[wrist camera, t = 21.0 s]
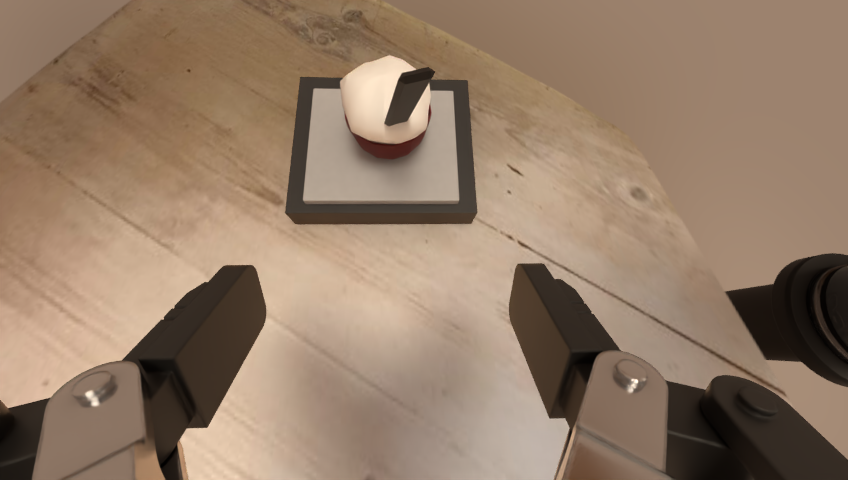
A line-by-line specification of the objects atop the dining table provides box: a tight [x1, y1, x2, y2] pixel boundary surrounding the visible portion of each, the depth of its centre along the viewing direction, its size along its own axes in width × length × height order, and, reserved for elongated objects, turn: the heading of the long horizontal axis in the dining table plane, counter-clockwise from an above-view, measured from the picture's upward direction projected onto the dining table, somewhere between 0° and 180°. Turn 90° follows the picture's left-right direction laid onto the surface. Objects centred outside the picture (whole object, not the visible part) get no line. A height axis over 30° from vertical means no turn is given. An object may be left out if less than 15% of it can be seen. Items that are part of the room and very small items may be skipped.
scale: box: [285, 77, 477, 224], centre depth 28 cm, size 15×13×3 cm
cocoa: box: [340, 55, 435, 159], centre depth 21 cm, size 10×6×12 cm, turn 178°
